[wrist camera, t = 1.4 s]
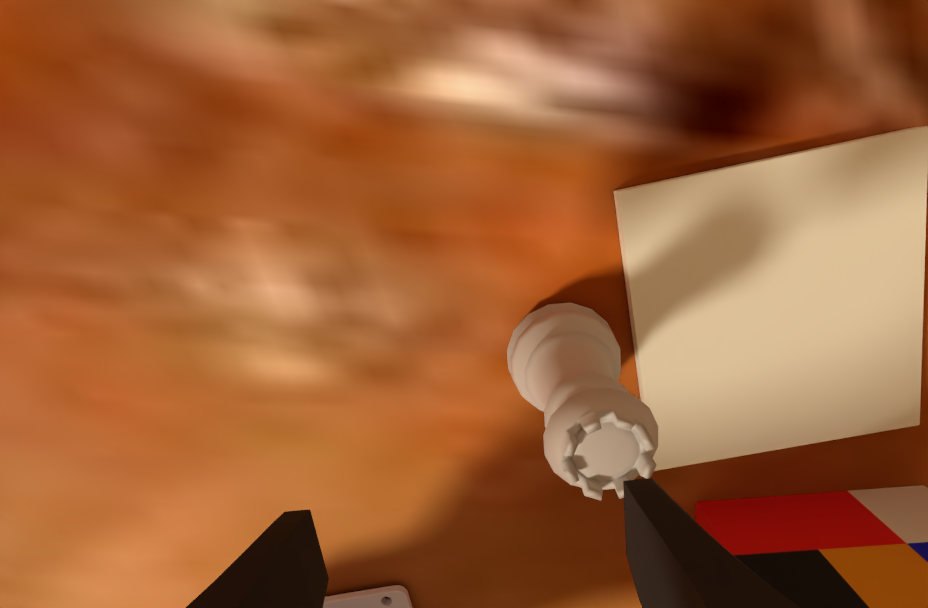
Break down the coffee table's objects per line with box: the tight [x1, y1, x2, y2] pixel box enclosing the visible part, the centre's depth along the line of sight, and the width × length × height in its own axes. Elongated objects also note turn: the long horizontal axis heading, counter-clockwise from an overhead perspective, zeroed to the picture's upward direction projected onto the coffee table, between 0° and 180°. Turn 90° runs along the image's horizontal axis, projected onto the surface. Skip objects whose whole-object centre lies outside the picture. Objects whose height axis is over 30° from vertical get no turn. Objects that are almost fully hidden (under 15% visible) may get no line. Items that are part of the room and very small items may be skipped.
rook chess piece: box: [507, 302, 658, 500], centre depth 18 cm, size 4×4×8 cm
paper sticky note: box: [613, 126, 928, 471], centre depth 20 cm, size 11×12×1 cm
